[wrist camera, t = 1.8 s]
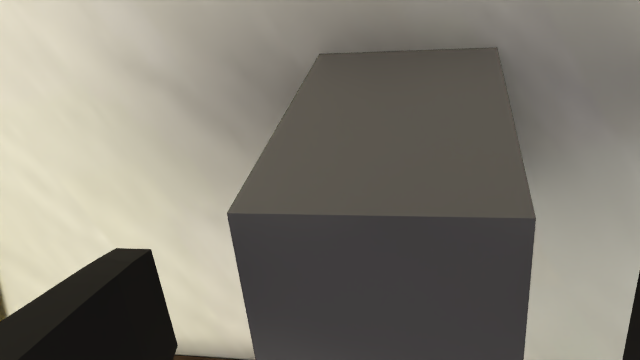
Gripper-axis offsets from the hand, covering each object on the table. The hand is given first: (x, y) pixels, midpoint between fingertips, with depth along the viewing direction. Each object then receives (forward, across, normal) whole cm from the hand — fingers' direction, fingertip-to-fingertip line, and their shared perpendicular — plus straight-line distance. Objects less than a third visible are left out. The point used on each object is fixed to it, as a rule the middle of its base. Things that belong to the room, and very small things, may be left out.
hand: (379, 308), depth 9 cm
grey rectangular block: (+6, 0, 0) cm, 7 cm away
